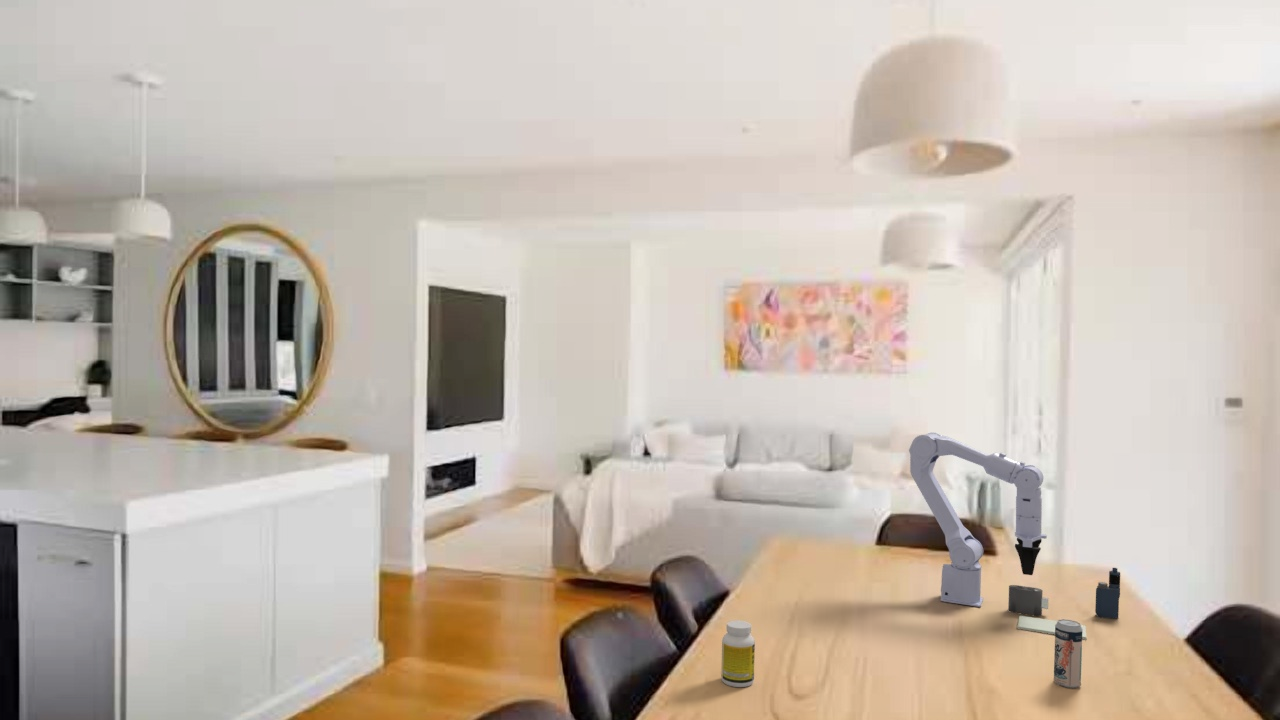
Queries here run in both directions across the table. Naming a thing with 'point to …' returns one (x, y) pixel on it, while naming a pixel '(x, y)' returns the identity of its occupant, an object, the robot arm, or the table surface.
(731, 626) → the pill bottle
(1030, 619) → the board
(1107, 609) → the vaping device
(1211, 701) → the table surface
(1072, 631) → the beer can
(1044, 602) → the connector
